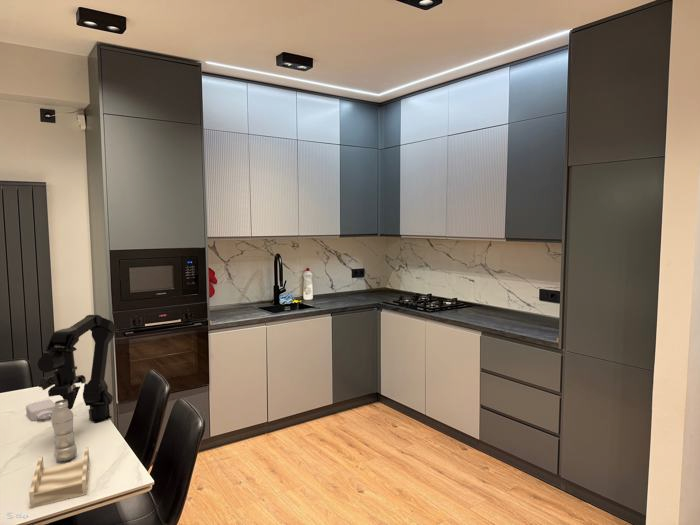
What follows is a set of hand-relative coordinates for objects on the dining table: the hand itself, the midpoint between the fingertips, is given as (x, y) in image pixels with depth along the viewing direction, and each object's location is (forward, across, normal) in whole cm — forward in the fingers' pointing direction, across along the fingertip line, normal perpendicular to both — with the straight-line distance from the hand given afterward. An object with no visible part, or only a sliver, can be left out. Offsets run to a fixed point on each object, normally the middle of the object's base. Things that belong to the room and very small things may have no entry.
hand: (70, 409), depth 179 cm
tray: (+16, +28, +6) cm, 32 cm away
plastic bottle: (+14, +12, +2) cm, 19 cm away
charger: (+9, -29, -21) cm, 36 cm away
